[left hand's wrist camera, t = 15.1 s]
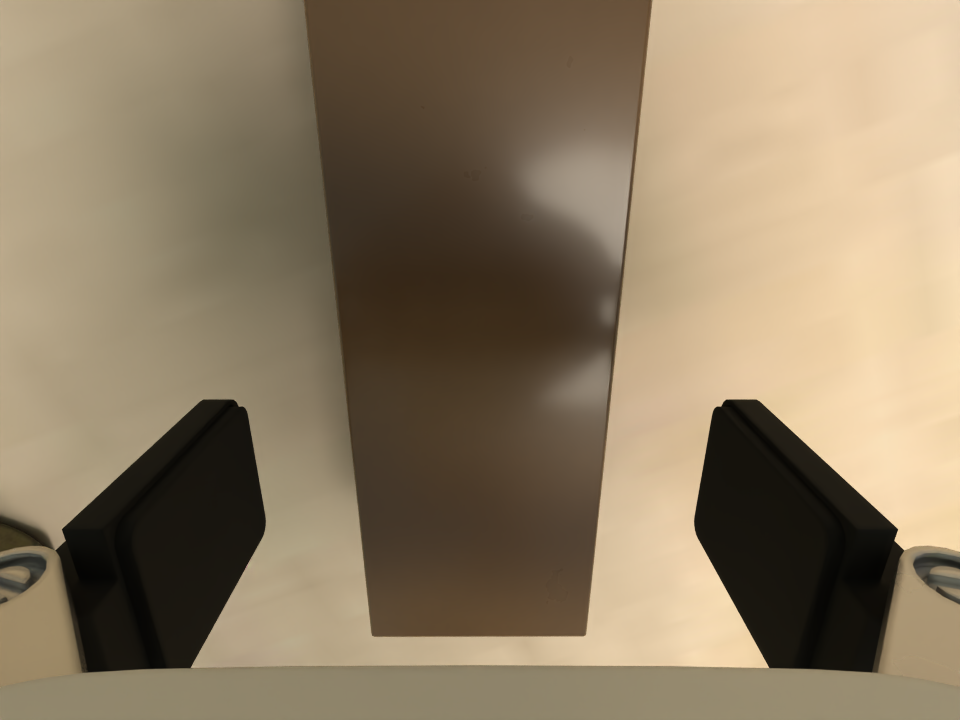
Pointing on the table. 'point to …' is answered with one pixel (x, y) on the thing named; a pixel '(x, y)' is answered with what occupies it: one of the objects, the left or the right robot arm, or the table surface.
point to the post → (478, 292)
